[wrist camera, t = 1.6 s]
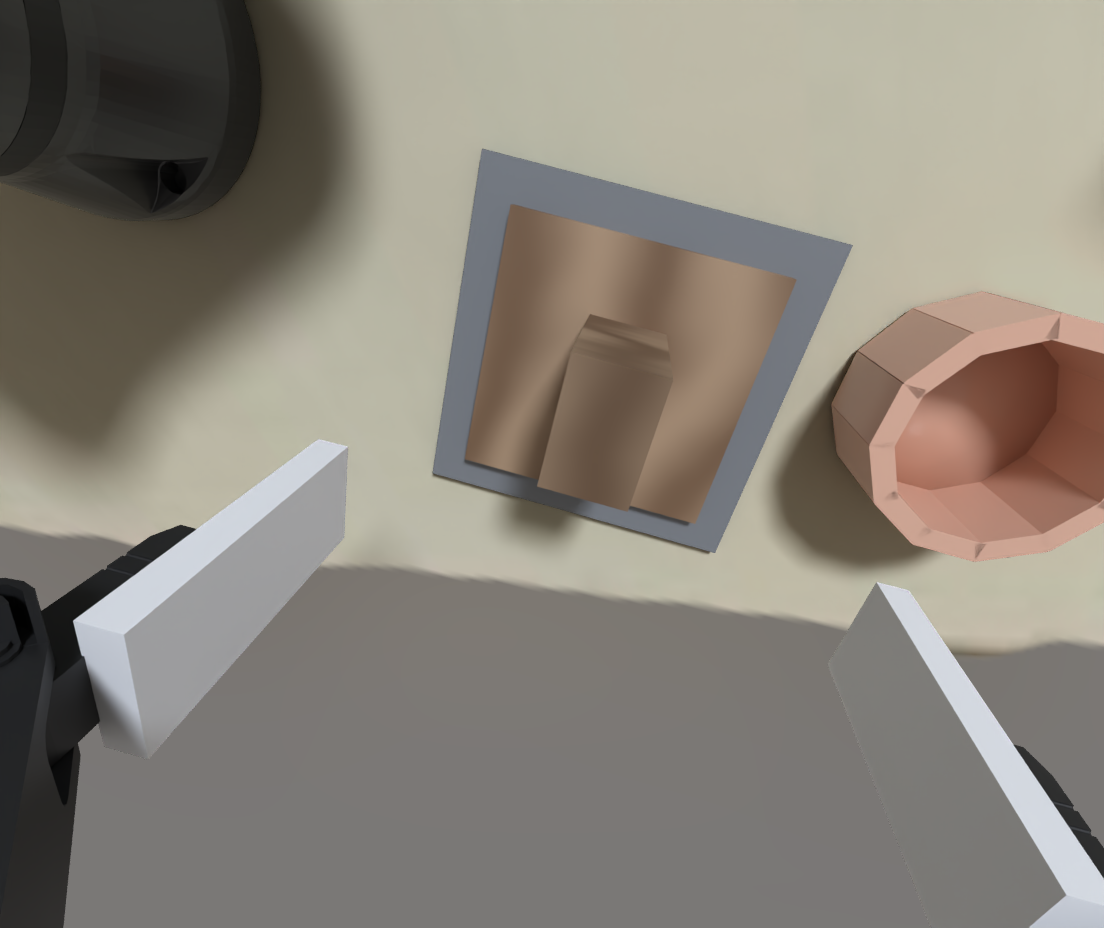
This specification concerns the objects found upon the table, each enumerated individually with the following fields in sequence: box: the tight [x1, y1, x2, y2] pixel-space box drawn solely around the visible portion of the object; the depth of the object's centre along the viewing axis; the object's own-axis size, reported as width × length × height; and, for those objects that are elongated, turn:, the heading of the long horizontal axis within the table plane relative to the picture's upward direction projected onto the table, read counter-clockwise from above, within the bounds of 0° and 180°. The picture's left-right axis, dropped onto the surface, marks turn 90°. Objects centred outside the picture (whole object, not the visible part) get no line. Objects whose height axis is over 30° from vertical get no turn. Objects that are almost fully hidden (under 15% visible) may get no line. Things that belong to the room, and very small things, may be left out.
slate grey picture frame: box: [433, 149, 853, 553], centre depth 31 cm, size 18×18×1 cm
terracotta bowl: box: [831, 292, 1104, 562], centre depth 26 cm, size 11×11×6 cm
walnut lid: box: [465, 204, 797, 524], centre depth 26 cm, size 14×14×9 cm
